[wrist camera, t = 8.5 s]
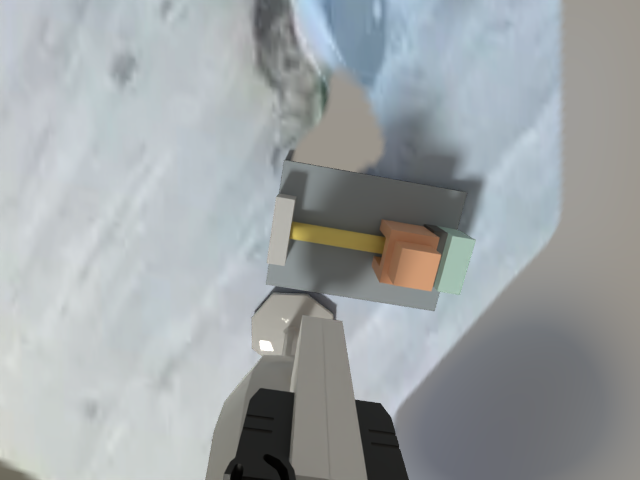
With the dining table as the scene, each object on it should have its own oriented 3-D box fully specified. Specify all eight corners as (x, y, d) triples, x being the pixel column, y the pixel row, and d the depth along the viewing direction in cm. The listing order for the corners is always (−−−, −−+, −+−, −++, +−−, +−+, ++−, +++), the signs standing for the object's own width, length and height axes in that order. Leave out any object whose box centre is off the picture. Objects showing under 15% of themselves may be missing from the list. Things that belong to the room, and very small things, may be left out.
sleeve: (381, 219, 33) (398, 236, 26) (423, 226, 33) (450, 245, 26) (371, 265, 34) (384, 293, 27) (411, 272, 34) (435, 301, 27)
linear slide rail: (284, 159, 33) (279, 161, 28) (462, 191, 33) (487, 198, 29) (267, 280, 35) (259, 301, 31) (431, 306, 36) (449, 331, 32)
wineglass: (239, 350, 37) (148, 589, 17) (266, 277, 35) (199, 449, 15) (316, 375, 38) (318, 632, 18) (347, 305, 36) (387, 505, 16)
